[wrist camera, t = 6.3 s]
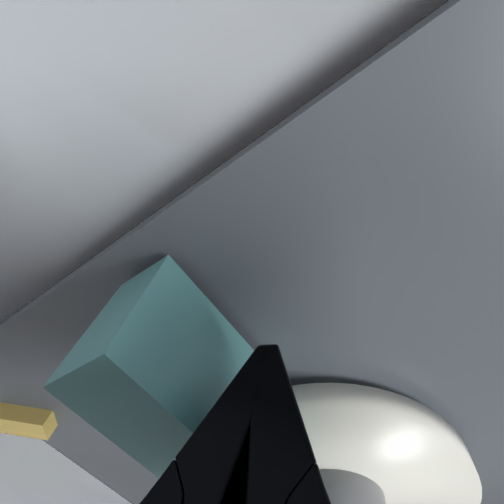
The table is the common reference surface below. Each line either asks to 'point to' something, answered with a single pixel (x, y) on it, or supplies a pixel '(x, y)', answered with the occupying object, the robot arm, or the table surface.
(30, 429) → the plate
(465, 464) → the dial
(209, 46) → the table surface
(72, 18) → the table surface
